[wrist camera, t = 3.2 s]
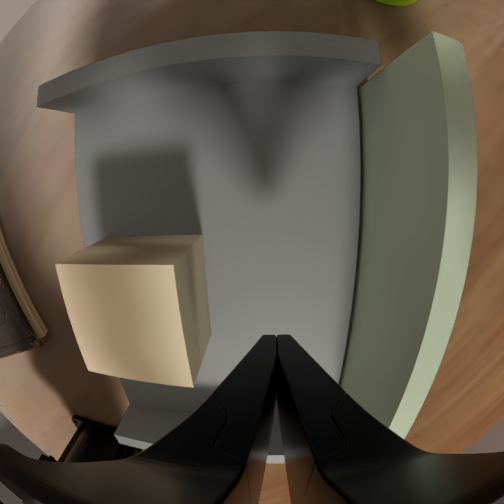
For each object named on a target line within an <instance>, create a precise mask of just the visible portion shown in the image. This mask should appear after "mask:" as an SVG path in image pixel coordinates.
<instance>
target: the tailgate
mask: <svg viewBox="0 0 504 504" xmlns="http://www.w3.org/2000/svg"><path fill="white" fill-rule="evenodd" d="M357 96H358V110H359V129H360V216H359V235H358V250H357V262H356V273H355V283H354V292H353V300H352V308H351V315H350V322H349V329H348V335H347V342H346V348H345V353H344V359H343V364H342V369H341V375H340V379H339V385H340V386H341V387H342V388H343V389H344V390H345V392H346V393H348V394H349V395H350V396H351V397H352V398H353V399H354V400H355V401H356V402H357V403H358V404H359V405H360V406H361V407H362V408H363V409H365V410H366V411H367V412H368V413H369V414H371V415H372V416H373V417H374V418H376V419H377V420H378V421H380V422H381V423H382V424H384V425H385V426H386V427H388V428H389V429H390V430H392V431H393V432H395V433H396V434H397V435H399V436H400V437H402V438H403V439H405V437H406V435H407V433H408V432H409V430H410V428H411V426H412V424H413V422H414V420H415V418H416V417H417V415H418V413H419V411H420V409H421V407H422V404H423V402H424V400H425V398H426V396H427V394H428V392H429V389H430V387H431V385H432V382H433V380H434V378H435V375H436V373H437V370H438V368H439V365H440V363H441V360H442V357H443V355H444V352H445V349H446V346H447V343H448V340H449V337H450V334H451V331H452V328H453V325H454V321H455V318H456V314H457V311H458V307H459V303H460V300H461V295H462V291H463V287H464V283H465V278H466V273H467V268H468V263H469V257H470V251H471V244H472V237H473V229H474V220H475V210H476V195H477V137H476V122H475V112H474V103H473V96H472V89H471V83H470V77H469V72H468V67H467V62H466V58H465V53H464V49H463V45H462V42H459V41H457V40H454V39H452V38H449V37H447V36H444V35H442V34H439V33H436V32H433V31H432V32H430V33H429V34H427V35H426V36H425V37H423V38H422V39H421V40H419V41H418V42H417V43H415V44H414V45H413V46H411V47H410V48H409V49H407V50H406V51H405V52H404V53H402V54H401V55H400V56H398V57H397V58H396V59H395V60H393V61H392V62H391V63H390V64H388V65H387V66H386V67H385V68H383V69H382V70H381V71H380V72H378V73H377V74H376V75H375V76H373V77H372V78H371V79H370V80H369V81H367V82H366V83H365V84H364V85H362V86H361V87H360V88H359V89H358V90H357Z"/></svg>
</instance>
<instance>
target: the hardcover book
mask: <svg viewBox="0 0 504 504" xmlns="http://www.w3.org/2000/svg"><path fill="white" fill-rule="evenodd" d="M48 332H49V331H48V330H47V328H46V326H45V325H44V323H43V321H42V319H41V318H40V316H39V314H38V312H37V310H36V309H35V307H34V305H33V303H32V301H31V299H30V297H29V295H28V293H27V291H26V289H25V287H24V285H23V283H22V280H21V278H20V276H19V274H18V272H17V269H16V267H15V265H14V262H13V260H12V257H11V255H10V252H9V250H8V247H7V245H6V242H5V239H4V237H3V234H2V231H1V228H0V358H3V357H6V356H10V355H14V354H17V353H21V352H24V351H28V350H31V349H34V348H38V347H41V346H42V345H43V344H42V343H41V341H40V340H39V339H41V338H42V337H44V336H46V334H47V333H48Z"/></svg>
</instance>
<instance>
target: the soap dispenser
mask: <svg viewBox="0 0 504 504" xmlns="http://www.w3.org/2000/svg"><path fill="white" fill-rule="evenodd" d="M375 1H378V2H381V3H384V4H388V5H393V6H407V5H411V4H413V3H415V2H416V1H417V0H375Z"/></svg>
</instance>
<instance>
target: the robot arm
mask: <svg viewBox="0 0 504 504" xmlns="http://www.w3.org/2000/svg"><path fill="white" fill-rule="evenodd" d="M276 401H277V410H278V417H279V424H280V431H281V437H282V444H283V451H284V458H285V464H286V471H287V478H288V485H289V492H290V498H291V504H504V451H503V452H496V453H479V454H437V453H430V452H426V451H423V450H421V449H419V448H417V447H415V446H413V445H412V444H410V443H409V442H407V441H406V440H404V439H403V438H402V437H400V436H399V435H397V434H396V433H395V432H393V431H392V430H390V429H389V428H388V427H386V426H385V425H384V424H382V423H381V422H380V421H378V420H377V419H376V418H374V417H373V416H372V415H371V414H369V413H368V412H367V411H366V410H365V409H363V408H362V407H361V406H360V405H359V404H358V403H357V402H356V401H355V400H354V399H353V398H352V397H351V396H350V395H349V394H348V393H346V392H345V390H344V389H343V388H342V387H341V386H340V385H339V384H338V383H337V382H336V381H335V380H334V379H333V378H332V377H331V376H330V375H329V374H328V373H327V372H326V371H325V370H324V369H323V368H322V367H321V366H320V365H319V364H318V363H317V362H316V361H315V360H314V359H313V358H312V357H311V356H310V355H309V354H308V352H307V351H306V350H305V349H304V348H303V347H302V346H301V345H300V344H299V343H298V342H297V341H296V340H295V339H294V338H293V337H292V336H291V335H290V334H279V335H277V338H276V335H262V336H261V337H260V339H259V340H258V341H257V342H256V343H255V345H254V346H253V347H252V348H251V349H250V350H249V352H248V353H247V354H246V355H245V356H244V357H243V359H242V360H241V361H240V362H239V363H238V364H237V366H236V367H235V368H234V369H233V370H232V371H231V372H230V373H229V375H228V376H227V377H226V378H225V379H224V380H223V381H222V382H221V384H220V385H219V386H218V387H217V388H216V389H215V390H214V391H213V392H212V393H211V395H209V396H208V398H207V399H206V400H205V401H204V402H203V403H202V404H201V405H200V406H199V407H198V408H197V409H196V410H195V411H194V412H193V413H192V414H191V415H189V416H188V417H187V418H186V419H185V420H184V421H182V422H181V423H180V424H179V425H177V426H176V427H175V428H174V429H172V430H171V431H170V432H168V433H167V434H166V435H164V436H163V437H162V438H160V439H159V440H158V441H156V442H155V443H154V444H152V445H151V446H149V447H148V448H147V449H145V450H144V451H142V452H140V453H139V452H138V450H137V448H136V447H132V446H128V445H124V444H121V443H119V442H118V440H117V439H116V437H115V435H114V433H115V431H116V430H117V428H113V427H109V426H106V425H102V424H99V423H96V422H93V421H89V420H86V419H83V418H80V417H78V416H73V417H72V421H73V423H74V424H75V426H76V428H77V431H76V432H75V434H74V435H73V437H72V439H71V440H70V442H69V443H68V445H67V447H66V448H65V450H64V452H63V453H62V455H61V457H60V458H59V460H58V461H56V460H55V458H54V457H52V456H51V455H50V456H49V457H47V456H45V455H43V454H42V455H41V457H40V458H39V460H36V459H33V458H30V457H27V456H25V455H23V454H21V453H19V452H18V451H16V450H15V449H13V448H11V447H10V446H9V445H6V444H3V443H0V481H1V482H2V483H3V484H4V485H5V486H6V487H7V488H8V489H9V490H11V491H12V492H13V493H14V494H15V495H16V496H18V497H19V498H20V499H22V500H23V502H22V504H258V502H259V497H260V492H261V487H262V482H263V476H264V471H265V466H266V460H267V455H268V449H269V443H270V437H271V431H272V425H273V419H274V413H275V405H276ZM0 504H4V503H3V502H1V501H0Z"/></svg>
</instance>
